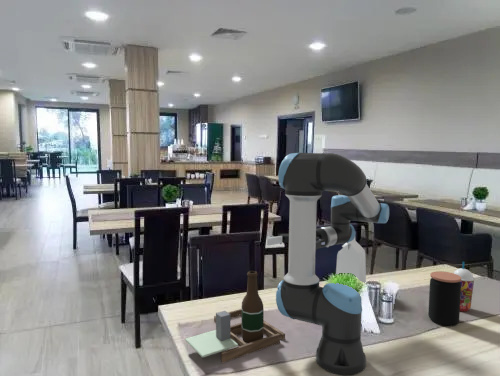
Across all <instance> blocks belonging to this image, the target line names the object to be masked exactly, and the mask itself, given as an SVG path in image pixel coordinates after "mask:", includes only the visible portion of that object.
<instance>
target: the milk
mask: <svg viewBox="0 0 500 376" xmlns="http://www.w3.org/2000/svg"><path fill="white" fill-rule="evenodd" d="M341 247H342V248H341V249H340V250H338V252H337V254H336V268H335V275H336V274H339V273H352V274H354V275H355V276H356V277H357V278H358V279H359V280H360V281H362V282H364V283H365V282H366V283H367V272H366V269H367V268H366V265H367V264H366V263H367V262H366V250H365V249H364V248H363V247H362V245H360V243H359V242H357V241H356V237H355V238H354V239H353V240H352V241H350V242H347V243H344V244H342V245H341Z"/></svg>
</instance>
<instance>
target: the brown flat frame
mask: <svg viewBox="0 0 500 376" xmlns="http://www.w3.org/2000/svg"><path fill="white" fill-rule="evenodd" d="M227 312H228V311H227ZM228 313H229V314H230V319H231V318H235V317H238V316H242V308H239V309H235V310H232V311H229V312H228ZM213 321H214V323H216V315H214V316H213ZM238 335H242V322H240V323H235V324H232V325H230V337H231V339H232V340H233V341H235V342H236V343H237V344H238V346H236V347H233V348H230V349H227V350H224V351H221V352H220V356H221V357H220V360H221V361H220V362H221V363H223V364H224V363H226V362H230V361H233V360H235V359H237V358H241V357H244V356H247V355H249V354H253V353H254V352H255V353H256V352H258V351H261V350H264V349H267V348H270V347H272V346H275V345H278V344H280V343H281V340H282V341H284V340H286V333H284V332H283V331H281V330H280V329H279V328H276V326H274V325H272V324H271V323H270V322H267V321H266V320H264V322H263V336H266V337H263V339H260V340H257V341H254V342H250V343H246V342H244V341H243V339H241V338H240V337H238Z"/></svg>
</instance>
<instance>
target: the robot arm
mask: <svg viewBox="0 0 500 376" xmlns="http://www.w3.org/2000/svg"><path fill="white" fill-rule="evenodd" d="M277 177H278V178H277V179H278V183H279V186H280V187H281V188H282V189H283V190H284V191H285V192H284V193H285V194H284V195H285V196H286V197H287V198H288V200H289V217H288V218H289V221H288V222H289V224H288V225H289V227H288V229H289V230H288V233H278V236H272V237H267V239H266V241H267V243H266V245H267V246H274V245H277V244H278V245H279V244H280V245H282V244H283V243H288V269H287V270H288V272H287V273H286V274H285V275H284V276H283V279H282V280H281V281H280V282H279V283H278V284H277V287H276V289H277V290H276V291H275V303H276V307H277V310H278V312H279V313H280V314H281V315H283V316H284V317H287V318H290V319H292V320H297V321H301V322H306V323H309V324H313V325H318V326H319V327H320V326H321V327H322V328H321V329H322V330H321V331H322V332H321V338H320V340H319V343H318V346H317V348H316V352H315V361H316V363H317V365H318V366H319V367H320V368H321V369H323V370H325V371H327V372H330V373H332V374H337V375H340V376H341V375H343V376H349V375H351V376H352V375H357V374H359V373H362V372H363V371H364V370H365V369H366V366H367V357H366V353H365V351H364V348H363V347H364V346H363V343H362V339H361V338H362V313H363V307H362V304H363V303H362V295H361V296H360V294H359V293H358V292H357V291H356V290H355V289H353V288H352V287H349V286H347V285H343V284H339V283H336V284H335V283H334V282H331V283H326V284H324V285H323V286H320V278H319V276H317V275H316V251H317V250H319V249H322V248H329V247H331V246H336V245H344V244H345V243H348V242H350V241H352V240H353V239H354V238H355V239H356V235H357V234H356V233H357V232H356V229H355V227H354V226H353V225H352V224H351V221H353V222H354V221H355V222H356V221H357V222H364V223H375V224H387V222H388V220H389V219H390V218H389V217H390V206H389V205H388V203H383V202H380V203H379V202H378V200H377V198H376V196H375V195H374V193H373V192H372V190H371V189H370V187H369V185H368V184H367V176H366V174H365V173H364V171H363V170H362V168H361V167H360V166H359V165H357V163H355V162H354V161H352V160H350V159H349V158H347V157H345V156H343V155H341V154H338V153H333V152H325V153H324V152H319V153H318V152H296V153H295V152H293V153H288V154H287V155H286V156H285V157H284V158H283V160H282V161H281V163H280V165H279V169H278V175H277ZM323 191H324V192H336V193H337V192H338V193H340V195H339V194H338V195H333V196H332V197H331V204H330V226H325V227H317V213H318V212H317V210H318V208H317V207H318V203H317V202H318V200H319V199H320V198H321V197H322V195H323Z"/></svg>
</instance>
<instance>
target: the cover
mask: <svg viewBox="0 0 500 376" xmlns="http://www.w3.org/2000/svg"><path fill="white" fill-rule="evenodd" d="M215 316H216V322H215V329H213V330H211V331H206V332H203V333H200V334H196V335H194V336H190V337H187V338H184V340H185V342H186V343H187V344H188V345H189V346H190V347H191V348H192V349H193V350H194V351H195V352H196V353H197V354H198V355H199V356H200V357H201V358H206V357H209V356H211V355H215V354H218V353H221V352H223V351H226V350H229V349H232V348H235V347H238V346H239V345H238V344H237V343H236V342H235V341H233V340H232V339H231V337H230V326H231V318H230V314H229V313H228V311H226V310H223V311H219V312H216V313H215Z"/></svg>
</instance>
